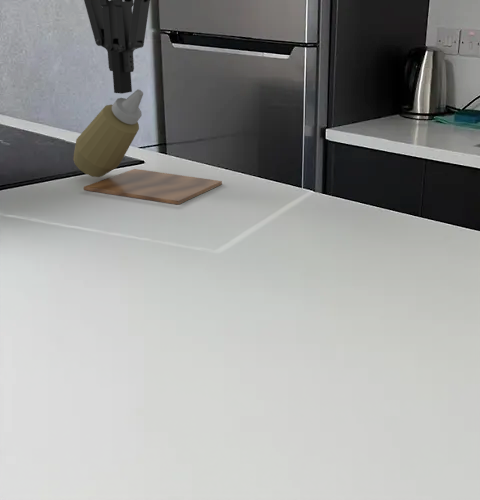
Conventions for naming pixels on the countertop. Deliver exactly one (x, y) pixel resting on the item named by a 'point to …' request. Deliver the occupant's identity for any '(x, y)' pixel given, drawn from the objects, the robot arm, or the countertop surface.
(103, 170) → the squeeze bottle
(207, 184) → the wooden board
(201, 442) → the countertop surface
